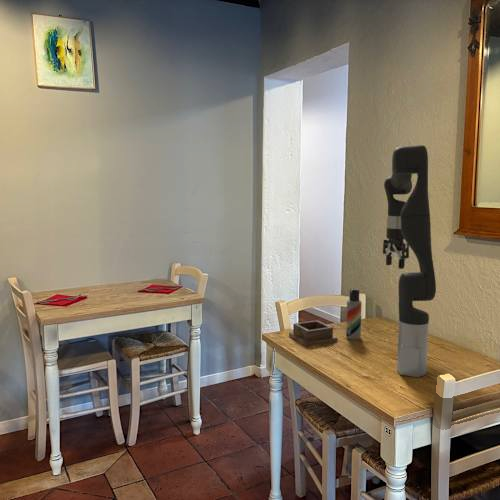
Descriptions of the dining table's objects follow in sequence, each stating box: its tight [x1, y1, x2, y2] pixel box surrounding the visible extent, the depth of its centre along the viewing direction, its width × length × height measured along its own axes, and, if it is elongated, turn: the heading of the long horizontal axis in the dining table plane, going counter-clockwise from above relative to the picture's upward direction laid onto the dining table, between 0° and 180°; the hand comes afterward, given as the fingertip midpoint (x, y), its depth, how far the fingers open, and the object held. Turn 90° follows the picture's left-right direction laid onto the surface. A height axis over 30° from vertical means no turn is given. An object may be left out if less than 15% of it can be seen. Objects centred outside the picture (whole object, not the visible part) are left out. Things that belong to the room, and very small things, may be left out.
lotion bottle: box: [345, 288, 362, 341], centre depth 194 cm, size 6×6×20 cm
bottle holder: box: [288, 319, 338, 348], centre depth 194 cm, size 14×14×6 cm
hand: (394, 266), depth 196 cm, fingers open, 8 cm apart
